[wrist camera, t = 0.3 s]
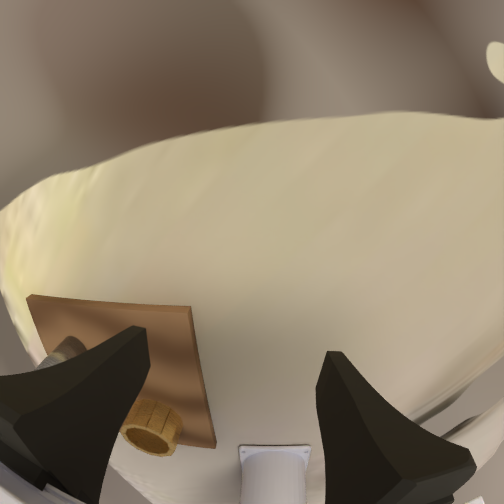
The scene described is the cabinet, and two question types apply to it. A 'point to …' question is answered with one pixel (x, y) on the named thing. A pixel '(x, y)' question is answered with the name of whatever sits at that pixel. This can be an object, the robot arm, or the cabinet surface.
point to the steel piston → (63, 352)
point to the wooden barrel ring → (152, 428)
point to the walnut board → (159, 344)
